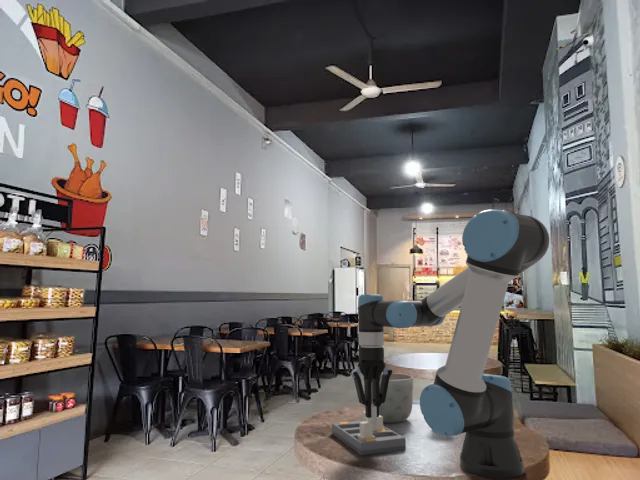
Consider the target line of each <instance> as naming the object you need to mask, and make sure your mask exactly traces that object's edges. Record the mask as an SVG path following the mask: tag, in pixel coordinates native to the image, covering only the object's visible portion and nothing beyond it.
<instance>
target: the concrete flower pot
mask: <svg viewBox="0 0 640 480" xmlns="http://www.w3.org/2000/svg"><path fill="white" fill-rule="evenodd" d="M382 376H383V372H382V374H381V375H380V382H379V389H380V385H381V380H382ZM413 393H414V377H413V375H410V374H406V373H399V372H398V373H397V372H392V374H391V376H390V378H389V383H388V389H387V394H386V400H385V403H382V404H381V406H380V407H379V415H380V416H382V417H383V423H387V424H395V423H397V424H398V423H401V422H404V421H406V420H407V419H408V418H409V417H410V416H411V414H412V410H413V402H414V401H413V398H414V397H413V395H414V394H413ZM372 405H373V402H372Z"/></svg>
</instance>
